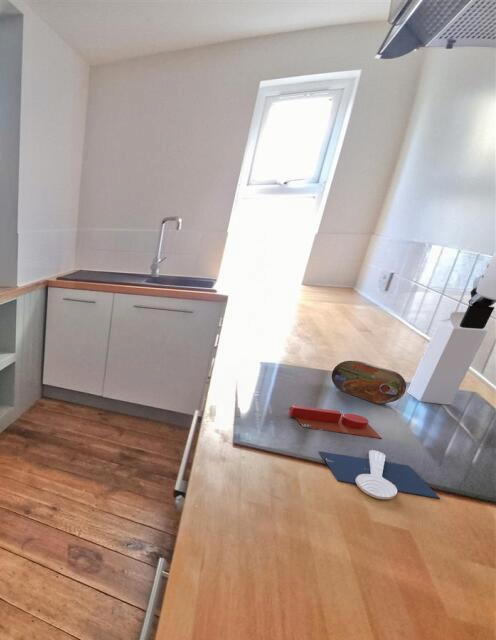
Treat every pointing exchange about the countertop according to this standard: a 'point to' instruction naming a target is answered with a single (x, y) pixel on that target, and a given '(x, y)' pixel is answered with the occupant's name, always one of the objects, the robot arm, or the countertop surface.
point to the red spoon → (328, 416)
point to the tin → (369, 382)
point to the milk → (446, 361)
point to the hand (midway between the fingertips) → (489, 335)
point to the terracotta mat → (340, 427)
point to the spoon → (376, 478)
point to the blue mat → (406, 482)
